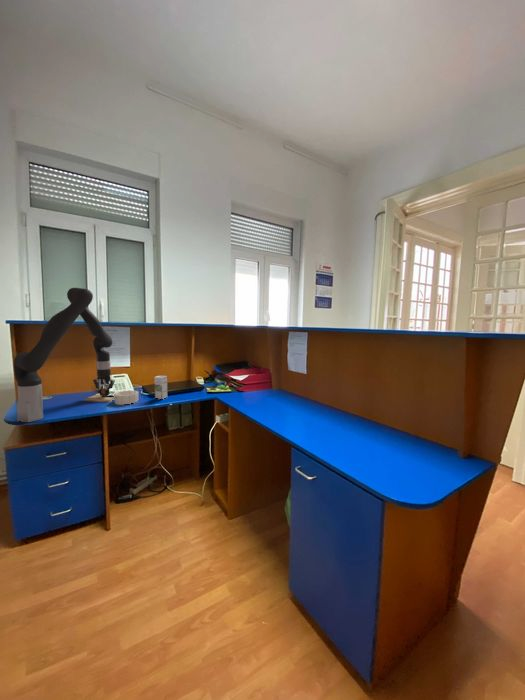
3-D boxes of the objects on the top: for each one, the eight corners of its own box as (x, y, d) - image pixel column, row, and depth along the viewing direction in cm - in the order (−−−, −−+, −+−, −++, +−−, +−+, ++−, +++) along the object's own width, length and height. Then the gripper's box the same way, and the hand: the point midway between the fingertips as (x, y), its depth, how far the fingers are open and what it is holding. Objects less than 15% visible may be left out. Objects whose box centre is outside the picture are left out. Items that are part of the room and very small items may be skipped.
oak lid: (108, 402, 176) (107, 392, 175) (83, 401, 178) (83, 391, 177) (123, 395, 192) (123, 386, 191) (101, 394, 194) (101, 385, 193)
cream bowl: (130, 405, 171) (130, 396, 170) (110, 404, 173) (109, 394, 172) (142, 399, 183) (142, 391, 183) (123, 398, 185) (123, 389, 185)
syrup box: (167, 397, 190) (167, 375, 188) (162, 400, 184) (162, 377, 183) (160, 396, 191) (159, 375, 190) (154, 399, 185) (154, 376, 184)
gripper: (89, 368, 180) (90, 396, 182) (110, 369, 178) (110, 397, 180) (97, 366, 187) (98, 393, 189) (117, 367, 185) (118, 394, 187)
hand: (104, 395), depth 184 cm, fingers closed on oak lid, 3 cm apart
